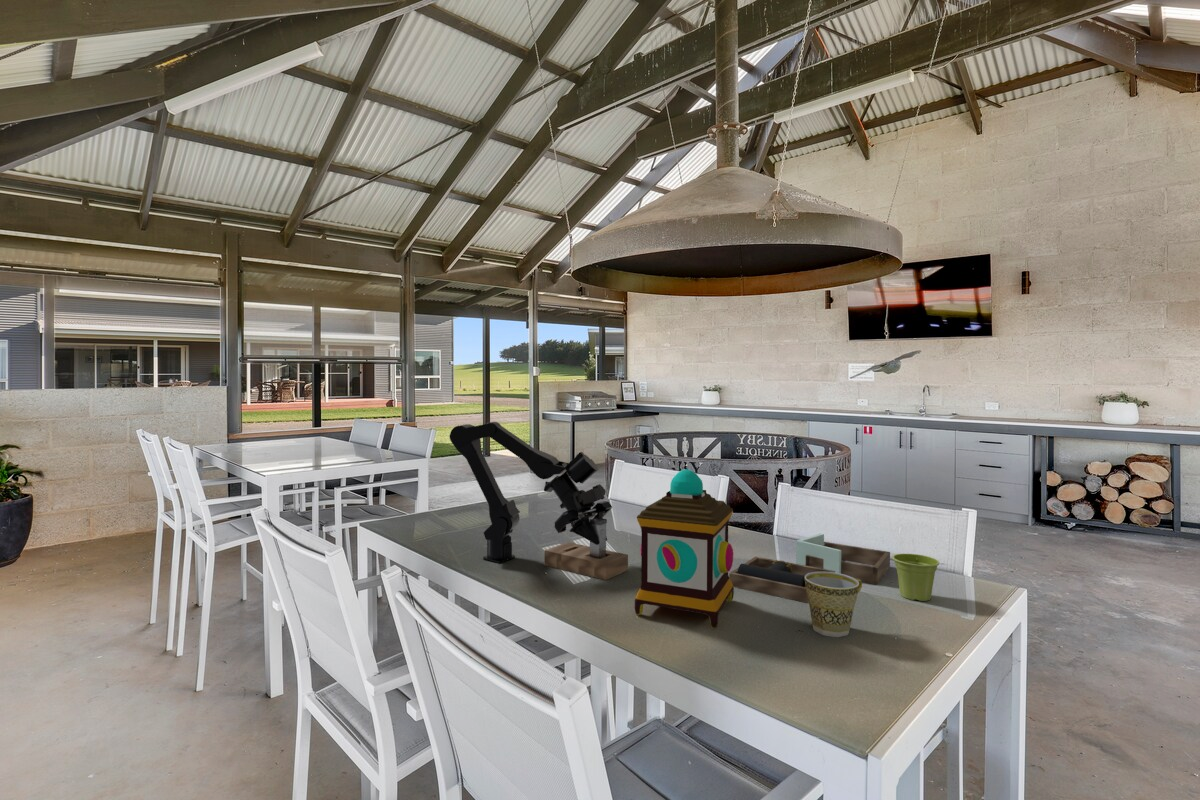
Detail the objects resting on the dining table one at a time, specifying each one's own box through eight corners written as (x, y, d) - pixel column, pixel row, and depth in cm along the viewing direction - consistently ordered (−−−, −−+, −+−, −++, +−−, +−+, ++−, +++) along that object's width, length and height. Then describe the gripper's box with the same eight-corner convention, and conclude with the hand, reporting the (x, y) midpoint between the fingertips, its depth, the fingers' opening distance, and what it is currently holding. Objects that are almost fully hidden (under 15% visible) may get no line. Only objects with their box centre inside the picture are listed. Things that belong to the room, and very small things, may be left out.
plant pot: (882, 592, 133) (883, 555, 133) (911, 587, 137) (911, 551, 137) (919, 607, 125) (919, 567, 125) (948, 600, 129) (949, 562, 128)
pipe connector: (754, 553, 147) (815, 564, 138) (754, 574, 147) (815, 586, 138) (737, 566, 138) (800, 578, 129) (737, 587, 138) (800, 601, 129)
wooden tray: (729, 585, 138) (729, 573, 138) (755, 567, 152) (755, 556, 151) (815, 604, 126) (815, 590, 126) (835, 583, 140) (835, 570, 140)
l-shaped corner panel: (839, 580, 143) (839, 550, 143) (795, 568, 152) (796, 540, 152) (862, 571, 150) (863, 542, 150) (820, 560, 160) (820, 533, 160)
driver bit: (589, 567, 149) (589, 519, 148) (596, 564, 151) (596, 517, 151) (599, 569, 147) (599, 521, 146) (606, 566, 149) (606, 519, 149)
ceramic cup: (830, 645, 106) (831, 591, 106) (792, 624, 115) (793, 575, 115) (881, 633, 111) (882, 582, 111) (841, 614, 121) (841, 567, 120)
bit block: (544, 565, 153) (544, 550, 153) (568, 556, 161) (568, 542, 161) (605, 580, 141) (605, 564, 141) (628, 569, 149) (628, 554, 149)
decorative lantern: (741, 599, 129) (742, 466, 128) (722, 634, 111) (723, 479, 110) (656, 586, 137) (656, 461, 136) (625, 616, 119) (626, 472, 118)
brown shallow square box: (805, 571, 149) (805, 555, 149) (823, 555, 163) (823, 541, 162) (877, 584, 139) (877, 568, 139) (889, 566, 153) (890, 552, 152)
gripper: (563, 480, 143) (599, 531, 137) (606, 471, 158) (640, 517, 152) (539, 507, 148) (572, 558, 142) (583, 496, 163) (615, 541, 157)
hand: (602, 542), depth 148 cm, fingers closed on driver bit, 3 cm apart
